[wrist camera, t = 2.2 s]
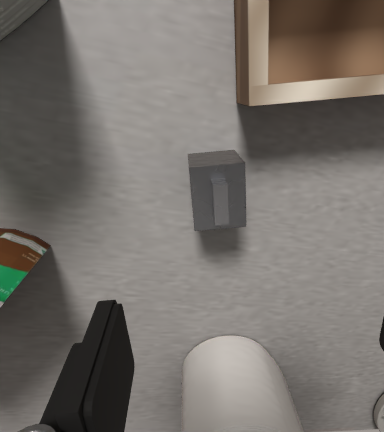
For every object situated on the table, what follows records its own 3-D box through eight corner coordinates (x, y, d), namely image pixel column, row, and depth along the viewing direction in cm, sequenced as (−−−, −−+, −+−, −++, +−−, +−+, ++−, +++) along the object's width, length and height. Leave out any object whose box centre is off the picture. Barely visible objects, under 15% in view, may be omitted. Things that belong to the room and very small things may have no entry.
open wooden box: (455, -62, 21) (534, -105, 17) (427, 85, 25) (485, 85, 20) (232, -42, 22) (247, -78, 17) (236, 102, 25) (249, 106, 20)
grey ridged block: (234, 149, 27) (249, 167, 21) (235, 204, 29) (250, 234, 23) (187, 153, 27) (189, 172, 21) (192, 207, 29) (195, 239, 23)
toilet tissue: (172, 343, 35) (168, 436, 25) (278, 323, 34) (314, 412, 25) (192, 407, 39) (194, 507, 30) (287, 390, 38) (321, 487, 29)
